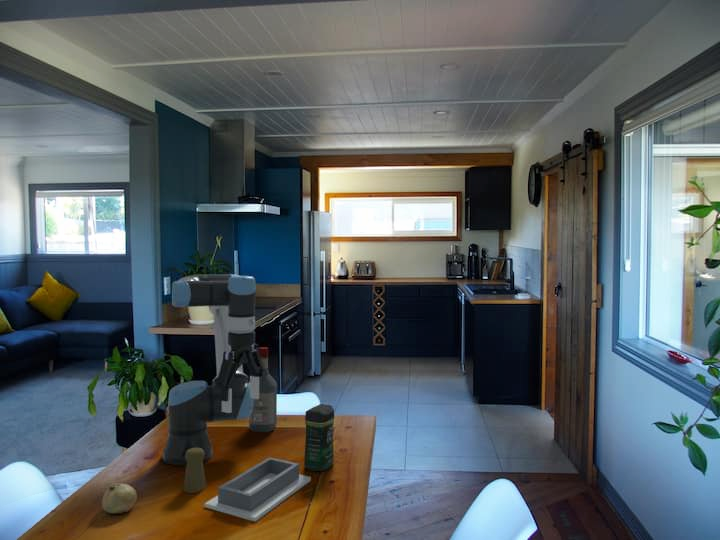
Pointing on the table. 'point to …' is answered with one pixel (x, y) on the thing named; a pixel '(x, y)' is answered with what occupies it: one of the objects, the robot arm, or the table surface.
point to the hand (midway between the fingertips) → (241, 405)
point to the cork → (194, 471)
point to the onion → (119, 498)
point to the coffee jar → (319, 438)
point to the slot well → (258, 489)
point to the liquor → (264, 400)
